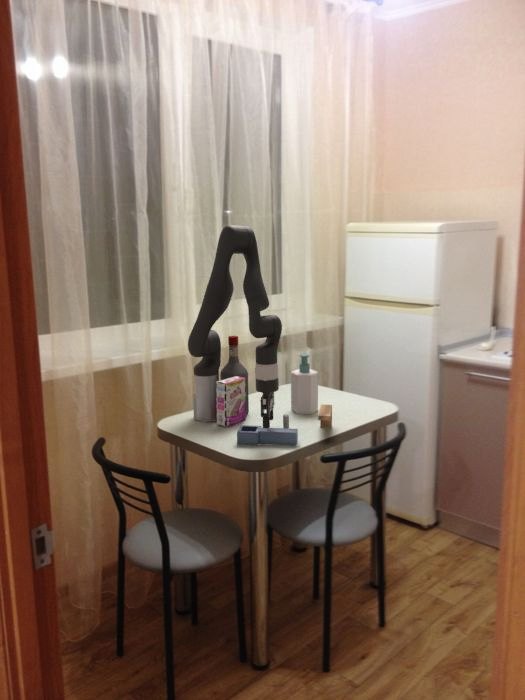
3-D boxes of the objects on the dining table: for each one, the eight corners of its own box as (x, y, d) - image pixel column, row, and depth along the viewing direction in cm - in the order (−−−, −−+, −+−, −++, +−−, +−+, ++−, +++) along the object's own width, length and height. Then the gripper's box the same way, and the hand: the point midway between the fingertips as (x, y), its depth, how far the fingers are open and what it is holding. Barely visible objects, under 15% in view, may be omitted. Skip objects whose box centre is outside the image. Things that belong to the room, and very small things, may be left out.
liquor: (232, 408, 252) (230, 333, 245) (251, 412, 246) (250, 335, 240) (218, 414, 244) (216, 337, 238) (237, 418, 239) (235, 339, 233)
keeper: (318, 438, 217) (318, 415, 215) (320, 426, 229) (320, 404, 228) (329, 438, 216) (330, 416, 215) (331, 426, 229) (332, 404, 227)
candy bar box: (226, 428, 229) (225, 383, 225) (216, 425, 232) (214, 381, 229) (246, 420, 237) (246, 377, 234) (236, 417, 240) (235, 375, 237)
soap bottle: (318, 407, 252) (318, 352, 247) (317, 414, 243) (317, 357, 239) (291, 406, 253) (291, 352, 248) (290, 413, 244) (290, 357, 240)
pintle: (282, 432, 223) (282, 416, 221) (283, 431, 225) (283, 414, 223) (288, 433, 222) (288, 416, 221) (289, 431, 224) (289, 414, 223)
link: (237, 444, 212) (236, 431, 211) (241, 437, 219) (240, 425, 218) (295, 447, 209) (295, 434, 208) (298, 440, 216) (298, 427, 215)
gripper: (259, 371, 217) (260, 417, 220) (251, 381, 203) (253, 430, 206) (281, 371, 215) (282, 417, 219) (275, 381, 202) (276, 431, 205)
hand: (268, 423), depth 212 cm, fingers open, 8 cm apart
